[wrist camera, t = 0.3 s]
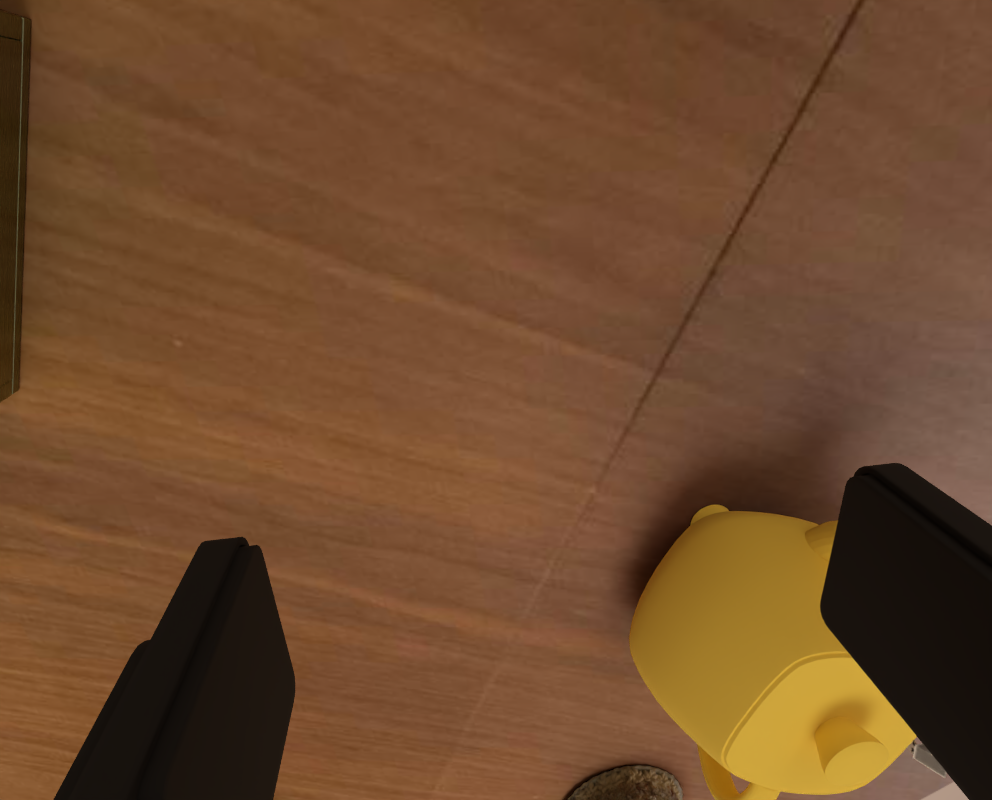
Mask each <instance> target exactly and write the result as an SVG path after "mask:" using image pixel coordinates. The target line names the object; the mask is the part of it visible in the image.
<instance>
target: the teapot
mask: <svg viewBox="0 0 992 800" xmlns="http://www.w3.org/2000/svg"><path fill="white" fill-rule="evenodd" d="M837 523H838V520H836V521H829V522H825V523H823V524H820V525H818V524H816V523H813V522H810V521H806V520H803V519H799V518H795V517H789V516H784V515H778V514H772V513H763V512H749V511H729V510H728V509H727V508H726V507H724V506H722V505H709V506H706V507H704V508H702V509H701V510H699V511H698V512H697V513H696V514H695V515H694V516H693V518H692V520H691V523H690V527H688V528H687V529H686V530H685V531H684V532H683V534H682V535H681V536H680V537H679V538H678V539H677V540H676V541H675V543H674V544H673V545H672V547H671V548H670V549H669V551H668V552H667V553H666V555H665V556H664V558H663V559H662V560H661V562H660V563H659V565H658V566H657V568H656V569H655V571H654V573H653V574H652V576H651V578H650V580H649V581H648V583H647V585H646V587H645V589H644V591H643V593H642V595H641V597H640V599H639V602H638V604H637V607H636V610H635V613H634V615H633V619H632V624H631V629H630V635H629V644H630V652H631V655H632V658H633V660H634V662H635V665H636V667H637V669H638V671H639V673H640V675H641V677H642V678H643V680H644V682H645V684H646V685H647V687H648V688H649V690H650V691H651V693H652V694H653V696H654V697H655V699H656V700H657V701H658V702H659V704H660V705H661V706H662V707H663V709H664V710H665V711H666V712H667V714H668V715H669V716H670V717H671V718H672V719H673V720H674V721H675V722H676V723H677V724H678V725H679V726H680V727H681V729H683V730H684V732H685V733H686V734H688V735H689V736H690V737H691V738H692V739H693V740H694V741H695V742H696V743H697V746H698V752H699V757H700V762H701V767H702V771H703V774H704V778H705V781H706V783H707V786H708V788H709V790H710V792H711V794H712V795H713V797H714V798H715V799H716V800H776V799H777V797H778V795H779V793H780V791H782V792H789V793H798V794H837V793H843V792H848V791H852V790H855V789H858V788H860V787H862V786H865V785H866V784H867V783H869V782H870V781H872V780H873V779H874V778H875V777H877V776H878V775H879V774H880V773H882V772H883V771H884V770H885V769H886V768H887V767H888V766H889V765H890V764H891V763H892V762H893V761H894V760H895V759H896V758H897V757H898V756H899V755H900V754H901V753H902V752H903V751H904V750H905V749H906V748H907V747H908V746H909V745H910V744H911V743H912V741H913V740H914V739H915V738H916V737H917V736H916V734H915V733H914V732H913V731H912V730H911V728H910V727H909V726H908V725H907V723H906V722H905V721H904V720H903V719H902V717H901V716H900V715H899V714H898V713H897V711H896V710H895V709H894V708H893V706H892V705H891V704H890V703H889V702H888V700H887V699H886V698H885V697H884V695H883V694H882V693H881V692H880V691H879V689H878V688H877V687H876V686H875V685H874V683H873V682H872V681H871V680H870V678H869V677H868V676H867V675H866V674H865V672H864V671H863V670H862V669H861V668H860V666H859V665H858V664H857V663H856V661H855V660H854V659H853V658H852V657H851V655H850V654H849V653H848V652H847V650H846V649H845V648H844V647H843V646H842V644H841V643H840V642H839V641H838V640H837V638H836V637H835V636H834V635H833V633H832V632H831V631H830V630H829V629H828V627H827V626H826V624H825V623H824V620H823V618H822V615H821V612H820V601H821V596H822V592H823V587H824V582H825V578H826V573H827V569H828V564H829V560H830V555H831V550H832V546H833V541H834V537H835V532H836V528H837ZM730 772H731V773H732V774H734V775H736V776H738V777H740V778H742V779H744V780H746V781H749V782H750V784H749V785H748V787H747V788H746V789H745V790H744V791H743V792H742V793H740V794H739V793H738V792H737V790H736V788H735V786H734V783H733V781H732V778H731V775H730Z"/></svg>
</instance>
